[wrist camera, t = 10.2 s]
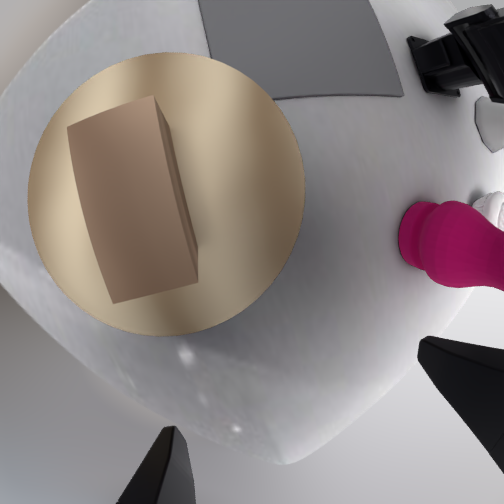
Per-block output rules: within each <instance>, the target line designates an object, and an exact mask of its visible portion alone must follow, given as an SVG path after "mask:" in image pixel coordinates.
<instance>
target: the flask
mask: <svg viewBox="0 0 504 504" xmlns="http://www.w3.org/2000/svg"><path fill="white" fill-rule="evenodd" d="M476 124H477V126H478V129H479V132H480V134H481V137H482V140H483V142H484V144H485V145H486V146H487V147H488V148H489V149H490V150H491V151H492V153H494V152H496V151H499V150H500V149H502V148H504V104H501V103H495V102H491V100H490V98H487V97H484V96H482V97H481V98H480V99H479V100H478V101H477V102H476Z"/></svg>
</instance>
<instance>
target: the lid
mask: <svg viewBox="0 0 504 504" xmlns="http://www.w3.org/2000/svg"><path fill="white" fill-rule="evenodd" d="M304 204H305V176H304V168H303V161H302V157H301V154H300V150H299V147H298V143H297V140H296V138H295V136H294V133H293V131H292V129H291V127H290V124H289V123H288V121H287V119H286V118H285V116H284V115H283V113H282V111H281V110H280V108H279V107H278V106H277V104H276V103H275V102H274V101H273V100H272V98H271V97H270V96H269V95H268V94H267V93H266V92H265V91H264V90H263V89H262V88H261V87H260V86H259V85H258V84H256V83H255V82H254V81H253V80H252V79H250V78H249V77H247V76H246V75H244V74H243V73H241V72H240V71H238V70H236V69H234V68H232V67H230V66H228V65H226V64H224V63H222V62H220V61H217V60H214V59H210V58H207V57H204V56H199V55H194V54H187V53H169V52H165V53H155V54H147V55H142V56H138V57H134V58H131V59H127V60H125V61H122V62H120V63H117V64H115V65H112V66H110V67H108V68H106V69H105V70H103V71H101V72H99V73H98V74H96V75H94V76H93V77H91V78H90V79H89V80H87V81H86V82H85V83H83V84H82V85H81V86H79V87H78V88H77V89H76V90H75V91H74V92H73V93H72V94H71V95H70V96H69V97H68V98H67V99H66V100H65V101H64V102H63V104H62V105H61V106H60V107H59V109H58V110H57V111H56V113H55V114H54V115H53V117H52V118H51V120H50V122H49V123H48V125H47V127H46V129H45V130H44V132H43V134H42V137H41V139H40V141H39V143H38V146H37V148H36V151H35V155H34V158H33V161H32V165H31V170H30V176H29V182H28V214H29V222H30V227H31V231H32V236H33V239H34V242H35V245H36V248H37V251H38V254H39V256H40V258H41V260H42V262H43V264H44V266H45V268H46V270H47V271H48V273H49V274H50V276H51V277H52V279H53V280H54V282H55V283H56V285H57V286H58V287H59V288H60V289H61V290H62V291H63V293H64V294H65V295H66V296H67V297H68V298H69V299H70V300H71V301H72V302H74V303H75V304H76V305H77V306H78V307H79V308H80V309H82V310H83V311H85V312H86V313H88V314H89V315H91V316H92V317H94V318H95V319H97V320H99V321H101V322H103V323H105V324H107V325H109V326H112V327H114V328H117V329H120V330H123V331H126V332H130V333H135V334H140V335H147V336H178V335H184V334H190V333H195V332H198V331H202V330H205V329H208V328H211V327H213V326H216V325H218V324H220V323H222V322H224V321H227V320H229V319H230V318H232V317H233V316H235V315H237V314H238V313H240V312H241V311H243V310H244V309H246V308H247V307H248V306H249V305H251V304H252V303H253V302H254V301H255V300H257V299H258V298H259V297H260V296H261V295H262V294H263V293H264V292H265V291H266V289H267V288H268V287H269V286H270V285H271V284H272V283H273V281H274V280H275V278H276V277H277V276H278V274H279V273H280V272H281V270H282V269H283V267H284V265H285V263H286V261H287V260H288V258H289V256H290V254H291V252H292V250H293V247H294V245H295V242H296V240H297V237H298V234H299V230H300V226H301V222H302V219H303V212H304Z"/></svg>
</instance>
